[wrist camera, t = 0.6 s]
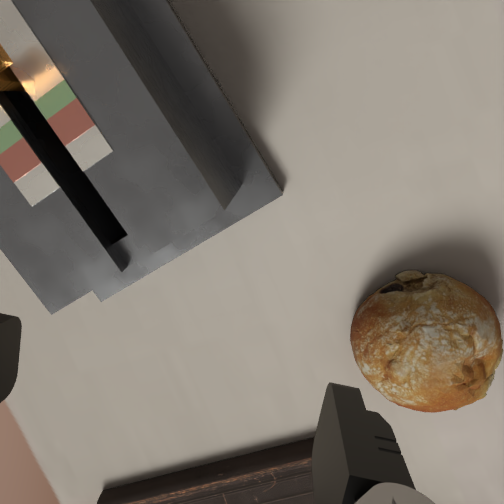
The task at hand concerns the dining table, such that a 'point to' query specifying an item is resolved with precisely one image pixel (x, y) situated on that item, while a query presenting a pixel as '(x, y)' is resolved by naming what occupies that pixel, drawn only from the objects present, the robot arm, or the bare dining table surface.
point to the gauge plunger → (9, 76)
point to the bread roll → (427, 342)
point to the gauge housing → (114, 146)
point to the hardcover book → (230, 481)
